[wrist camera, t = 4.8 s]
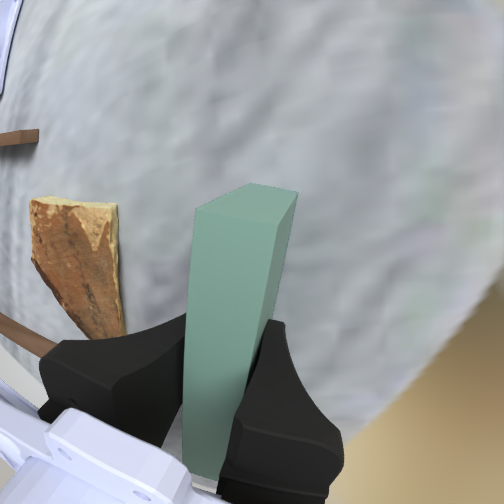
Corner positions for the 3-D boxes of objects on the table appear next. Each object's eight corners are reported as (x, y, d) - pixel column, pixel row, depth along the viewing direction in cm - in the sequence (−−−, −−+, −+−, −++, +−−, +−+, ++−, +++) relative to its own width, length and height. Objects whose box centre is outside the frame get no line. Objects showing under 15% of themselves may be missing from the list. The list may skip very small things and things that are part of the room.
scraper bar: (252, 400, 17) (223, 482, 11) (219, 391, 17) (182, 469, 12) (298, 192, 13) (277, 225, 7) (251, 182, 13) (195, 208, 7)
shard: (140, 368, 19) (127, 384, 17) (59, 334, 20) (44, 346, 18) (129, 201, 15) (108, 208, 13) (38, 191, 16) (18, 197, 15)
